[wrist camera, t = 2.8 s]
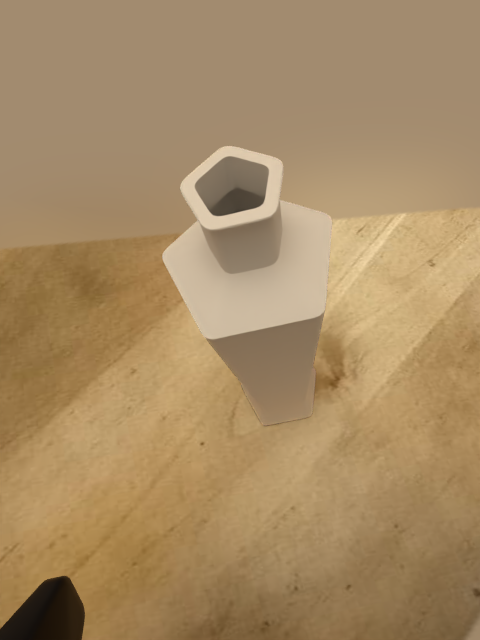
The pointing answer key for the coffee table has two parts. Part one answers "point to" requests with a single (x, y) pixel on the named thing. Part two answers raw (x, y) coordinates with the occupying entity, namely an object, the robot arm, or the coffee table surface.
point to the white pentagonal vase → (255, 278)
